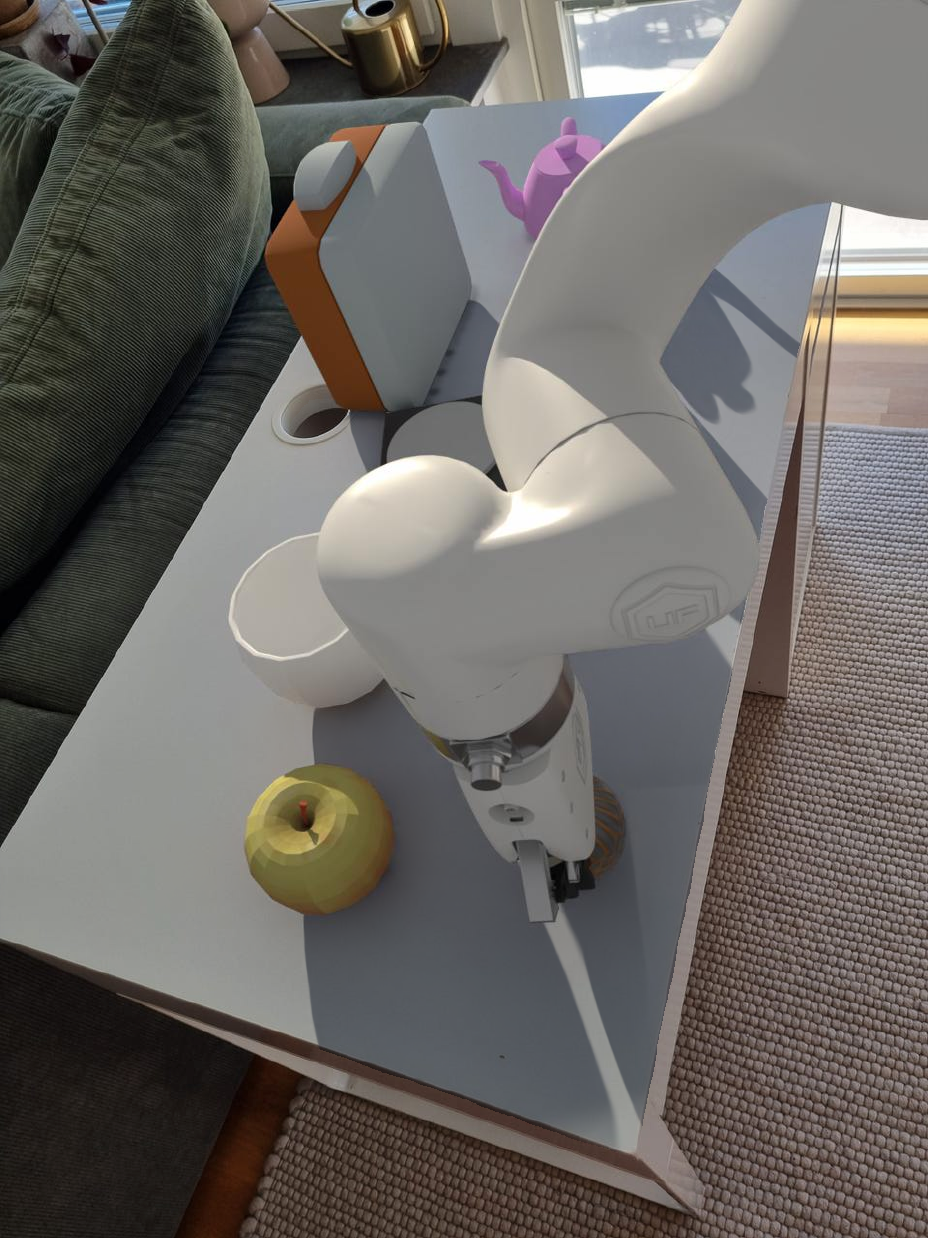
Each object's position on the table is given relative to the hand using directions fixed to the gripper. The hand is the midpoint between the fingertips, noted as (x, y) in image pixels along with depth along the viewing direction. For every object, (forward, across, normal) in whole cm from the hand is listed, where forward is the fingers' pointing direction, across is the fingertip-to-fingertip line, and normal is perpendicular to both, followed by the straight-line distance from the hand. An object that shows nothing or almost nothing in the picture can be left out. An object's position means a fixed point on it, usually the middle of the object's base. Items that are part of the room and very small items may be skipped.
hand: (565, 823), depth 57 cm
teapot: (+6, +68, -3) cm, 68 cm away
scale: (+5, +35, +10) cm, 37 cm away
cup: (+5, +17, +18) cm, 25 cm away
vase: (+4, 0, 0) cm, 4 cm away
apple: (+5, +1, +17) cm, 18 cm away
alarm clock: (+5, +53, +15) cm, 55 cm away
